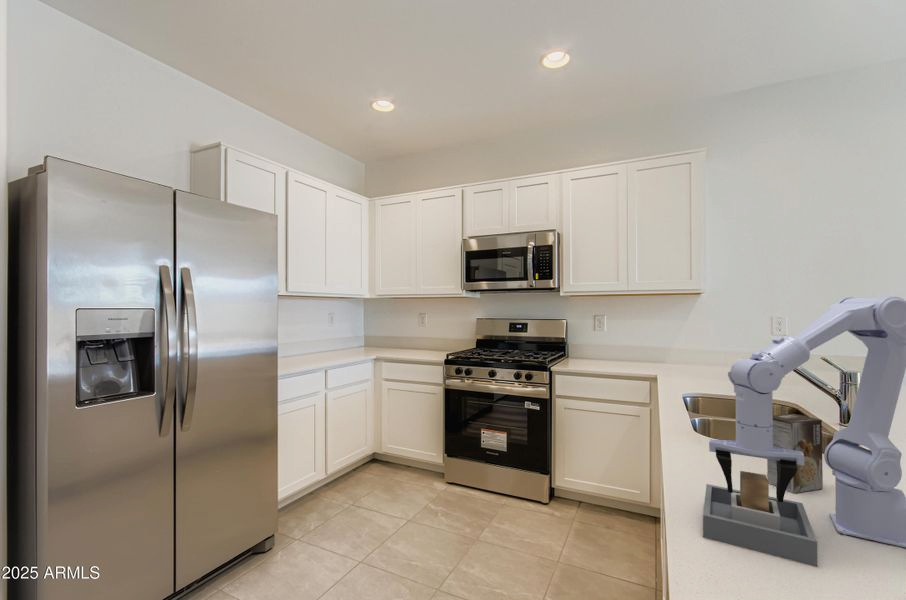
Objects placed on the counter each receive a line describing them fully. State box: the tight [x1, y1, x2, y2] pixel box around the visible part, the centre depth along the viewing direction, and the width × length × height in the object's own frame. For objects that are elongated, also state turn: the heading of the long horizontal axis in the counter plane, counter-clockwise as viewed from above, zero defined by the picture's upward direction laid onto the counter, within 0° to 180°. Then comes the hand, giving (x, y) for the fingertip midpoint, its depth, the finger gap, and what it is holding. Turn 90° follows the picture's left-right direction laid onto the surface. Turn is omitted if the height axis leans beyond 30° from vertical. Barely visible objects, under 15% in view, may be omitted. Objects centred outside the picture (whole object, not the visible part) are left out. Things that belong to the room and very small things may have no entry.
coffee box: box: [766, 413, 824, 494], centre depth 99 cm, size 9×6×16 cm
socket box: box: [702, 483, 818, 567], centre depth 80 cm, size 16×16×5 cm
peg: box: [739, 470, 770, 513], centre depth 80 cm, size 4×4×9 cm
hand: (754, 495), depth 80 cm, fingers open, 7 cm apart
